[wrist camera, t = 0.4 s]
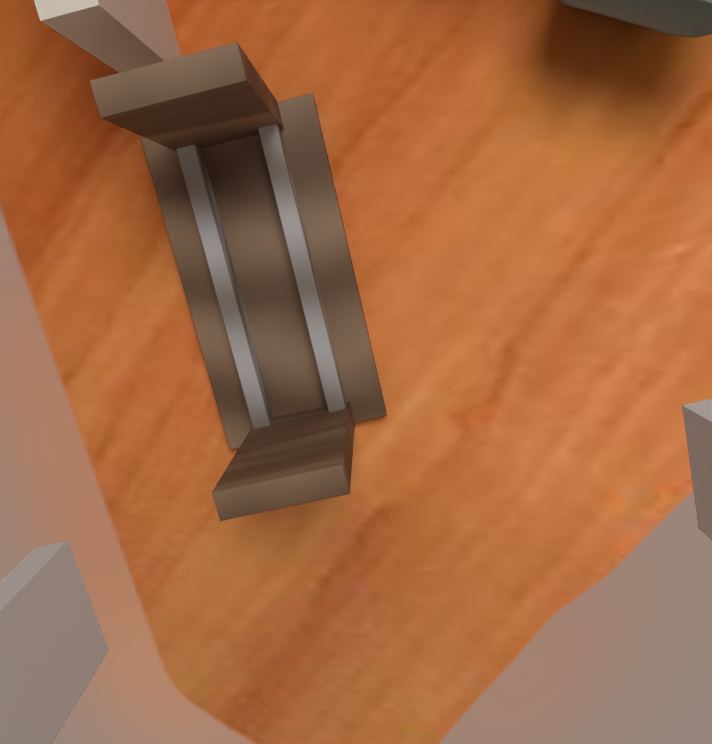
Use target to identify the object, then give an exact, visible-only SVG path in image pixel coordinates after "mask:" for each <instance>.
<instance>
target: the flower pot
mask: <svg viewBox="0 0 712 744" xmlns="http://www.w3.org/2000/svg"><path fill="white" fill-rule="evenodd" d="M559 1H560V2H561V3H563V4H565V5H568V6H571V7H574V8H578V9H582V10H586V11H589V12H593V13H597V14H600V15H604V16H607V17H611V18H614V19H618V20H621V21H625V22H628V23H632V24H635V25H639V26H642V27H646V28H649V29H652V30H655V31H659V32H662V33H666V34H670V35H675V36H681V37H699V36H705V35H709V34H712V0H559Z"/></svg>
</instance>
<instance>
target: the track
mask: <svg viewBox="0 0 712 744" xmlns="http://www.w3.org/2000/svg"><path fill="white" fill-rule="evenodd" d="M90 84H91V87H92V91H93V94H94V98H95V101H96V104H97V108H98V111H99V114H100V118H102V119H104V120H107V121H109V122H111V123H113V124H116V125H118V126H120V127H122V128H125V129H127V130H129V131H131V132H134V133H136V134H138V135H140V136H142V137H141V140H142V144H143V147H144V151H145V154H146V158H147V161H148V165H149V168H150V172H151V175H152V179H153V182H154V186H155V189H156V193H157V196H158V200H159V203H160V207H161V210H162V214H163V217H164V221H165V224H166V228H167V231H168V234H169V238H170V241H171V245H172V248H173V252H174V255H175V259H176V262H177V266H178V269H179V273H180V276H181V280H182V283H183V287H184V290H185V294H186V297H187V301H188V304H189V308H190V311H191V315H192V318H193V322H194V325H195V329H196V332H197V336H198V339H199V343H200V346H201V350H202V353H203V357H204V360H205V364H206V367H207V371H208V374H209V378H210V381H211V385H212V388H213V392H214V395H215V399H216V402H217V406H218V409H219V413H220V416H221V420H222V423H223V426H224V430H225V433H226V437H227V440H228V444H229V447H230V450H231V449H235V448H239V449H238V451H237V452H236V454H235V456H234V457H233V459H232V461H231V462H230V464H229V465H228V467H227V469H226V470H225V472H224V474H223V475H222V477H221V479H220V480H219V482H218V483H217V485H216V487H215V488H214V490H213V492H212V495H213V498H214V501H215V505H216V508H217V512H218V515H219V518H220V521H223V520H227V519H232V518H237V517H242V516H246V515H251V514H256V513H261V512H265V511H270V510H275V509H280V508H285V507H289V506H294V505H299V504H304V503H308V502H313V501H318V500H323V499H327V498H332V497H337V496H342V495H347V494H350V482H351V468H352V455H353V441H354V427H355V422H359V421H364V420H369V419H373V418H378V417H382V416H387V415H386V409H385V404H384V400H383V396H382V391H381V387H380V383H379V378H378V374H377V370H376V365H375V361H374V356H373V352H372V348H371V343H370V339H369V335H368V330H367V326H366V322H365V317H364V313H363V309H362V304H361V300H360V296H359V291H358V287H357V283H356V278H355V274H354V269H353V265H352V261H351V256H350V252H349V248H348V243H347V239H346V235H345V230H344V226H343V222H342V217H341V213H340V209H339V204H338V200H337V195H336V191H335V187H334V182H333V178H332V174H331V169H330V165H329V161H328V156H327V152H326V148H325V143H324V139H323V135H322V130H321V126H320V122H319V117H318V113H317V108H316V104H315V100H314V96H313V94H312V93H311V94H307V95H304V96H300V97H296V98H292V99H288V100H284V101H280V102H277V101H276V99H275V98H274V96H273V95H272V93H271V92H270V90H269V89H268V87H267V86H266V84H265V83H264V81H263V80H262V78H261V77H260V75H259V74H258V72H257V71H256V69H255V68H254V66H253V65H252V64H251V62H250V61H249V59H248V58H247V56H246V55H245V53H244V52H243V50H242V49H241V47H240V46H239V44H238V43H237V42H236V43H232V44H228V45H224V46H220V47H216V48H213V49H209V50H205V51H201V52H197V53H194V54H190V55H186V56H182V57H178V58H174V59H171V60H167V61H163V62H159V63H155V64H151V65H148V66H144V67H140V68H136V69H132V70H129V71H125V72H121V73H117V74H113V75H109V76H106V77H102V78H98V79H94V80H90Z"/></svg>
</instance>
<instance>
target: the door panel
mask: <svg viewBox="0 0 712 744" xmlns="http://www.w3.org/2000/svg"><path fill="white" fill-rule="evenodd" d="M34 2H35V6H36V9H37V12H38V15H39V19H40V21H41V22H43V23H44V24H46V25H47V26H49V27H50V28H52V29H53V30H55V31H56V32H58V33H59V34H61V35H62V36H64V37H65V38H67V39H69V40H70V41H72V42H73V43H75V44H76V45H78V46H79V47H81V48H82V49H84V50H85V51H87V52H88V53H90V54H91V55H93V56H94V57H96V58H97V59H99V60H100V61H102V62H104V63H105V64H107V65H108V66H110V67H111V68H113V69H114V70H116V71H117V72H119V73H121V72H125V71H129V70H132V69H136V68H140V67H144V66H148V65H151V64H155V63H159V62H163V61H167V60H171V59H174V58H178V57H181V54H180V51H179V47H178V43H177V39H176V36H175V32H174V28H173V24H172V21H171V17H170V13H169V9H168V6H167V2H166V0H34Z"/></svg>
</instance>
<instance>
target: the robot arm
mask: <svg viewBox="0 0 712 744" xmlns="http://www.w3.org/2000/svg"><path fill="white" fill-rule="evenodd" d="M682 407H683V415H684V422H685V430H686V437H687V445H688V452H689V460H690V467H691V475H692V482H693V490H694V497H695V505H696V512H697V520H698V527H699V529H700V530H701V531H702V532H703V533H705V534H706V535H707V536H708V537H709V538H710V539H711V540H712V399H709V400H705V401H700V402H696V403H691V404H686V405H682ZM108 650H109V649H108V647H107V644H106V642H105V639H104V636H103V633H102V630H101V628H100V625H99V623H98V620H97V617H96V614H95V612H94V609H93V606H92V604H91V601H90V598H89V596H88V593H87V590H86V587H85V585H84V582H83V579H82V577H81V574H80V571H79V568H78V566H77V563H76V560H75V558H74V555H73V552H72V550H71V547H70V544H69V542H68V541H64V542H60V543H55V544H50V545H46V546H42V547H37V548H34V549H33V550H32V551H31V552H30V553H29V554H28V555H27V556H26V557H25V558H24V559H23V560H22V561H21V562H20V563H19V564H18V565H16V566H15V567H14V568H13V569H12V570H11V571H10V572H9V573H8V574H7V575H6V576H5V577H4V578H3V579H2V580H1V581H0V744H52V742H53V740H54V739H55V737H56V735H57V734H58V732H59V730H60V729H61V727H62V726H63V724H64V722H65V720H66V719H67V717H68V716H69V714H70V713H71V711H72V709H73V708H74V706H75V704H76V703H77V701H78V700H79V698H80V696H81V695H82V693H83V691H84V690H85V688H86V687H87V685H88V683H89V682H90V680H91V678H92V677H93V675H94V673H95V672H96V670H97V669H98V667H99V665H100V664H101V662H102V660H103V659H104V657H105V656H106V654H107V652H108Z"/></svg>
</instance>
